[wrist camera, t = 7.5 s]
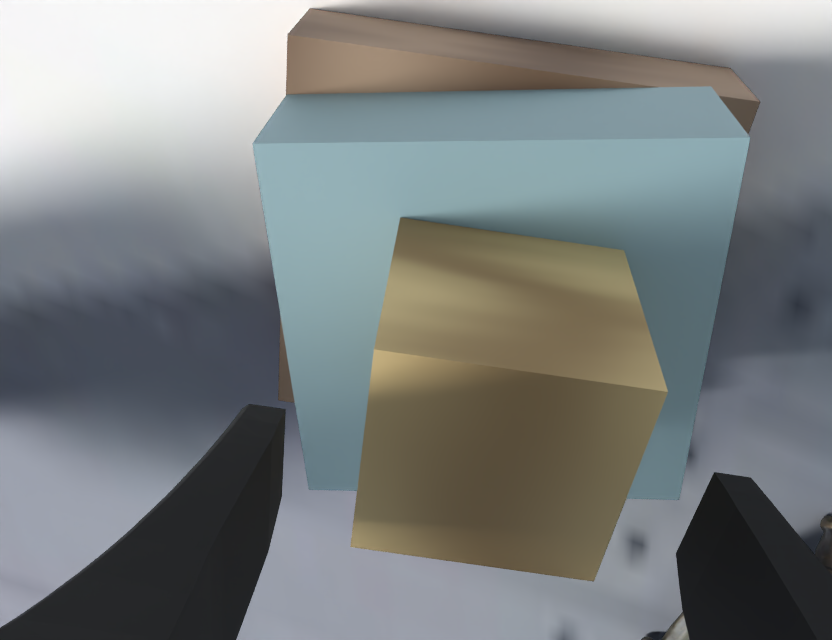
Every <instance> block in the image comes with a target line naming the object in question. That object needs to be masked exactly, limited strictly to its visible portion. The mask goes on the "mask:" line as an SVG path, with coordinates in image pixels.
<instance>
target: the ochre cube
mask: <svg viewBox="0 0 832 640" xmlns="http://www.w3.org/2000/svg"><path fill="white" fill-rule="evenodd" d="M667 393H668V390H667V387H666V383H665V380H664V377H663V374H662V371H661V367H660V364H659V361H658V358H657V355H656V351H655V348H654V345H653V342H652V338H651V335H650V332H649V329H648V326H647V322H646V319H645V316H644V313H643V309H642V306H641V303H640V300H639V297H638V293H637V290H636V287H635V284H634V281H633V277H632V274H631V271H630V268H629V264H628V261H627V258H626V255H625V252H624V250H619V249H612V248H606V247H599V246H592V245H585V244H578V243H572V242H565V241H558V240H551V239H544V238H537V237H531V236H524V235H517V234H510V233H503V232H496V231H490V230H483V229H476V228H469V227H462V226H455V225H448V224H442V223H435V222H428V221H421V220H414V219H407V218H401V217H400V221H399V226H398V231H397V236H396V241H395V246H394V251H393V256H392V261H391V266H390V271H389V276H388V281H387V286H386V291H385V296H384V301H383V306H382V311H381V316H380V321H379V326H378V331H377V336H376V341H375V346H374V353H373V361H372V369H371V378H370V386H369V395H368V403H367V412H366V420H365V429H364V437H363V445H362V454H361V462H360V471H359V479H358V488H357V496H356V505H355V513H354V521H353V530H352V538H351V547H355V548H362V549H369V550H376V551H383V552H390V553H397V554H404V555H411V556H418V557H425V558H432V559H439V560H446V561H453V562H460V563H467V564H475V565H482V566H489V567H496V568H503V569H510V570H517V571H524V572H531V573H538V574H545V575H552V576H559V577H566V578H573V579H580V580H587V581H594V580H595V577H596V575H597V572H598V569H599V567H600V564H601V562H602V559H603V557H604V554H605V552H606V549H607V547H608V544H609V541H610V539H611V536H612V534H613V531H614V529H615V526H616V524H617V521H618V518H619V516H620V513H621V511H622V508H623V506H624V503H625V501H626V498H627V495H628V493H629V490H630V488H631V485H632V483H633V480H634V478H635V475H636V473H637V470H638V467H639V465H640V462H641V460H642V457H643V455H644V452H645V450H646V447H647V444H648V442H649V439H650V437H651V434H652V432H653V429H654V427H655V424H656V421H657V419H658V416H659V414H660V411H661V409H662V406H663V404H664V401H665V398H666V396H667Z"/></svg>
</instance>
